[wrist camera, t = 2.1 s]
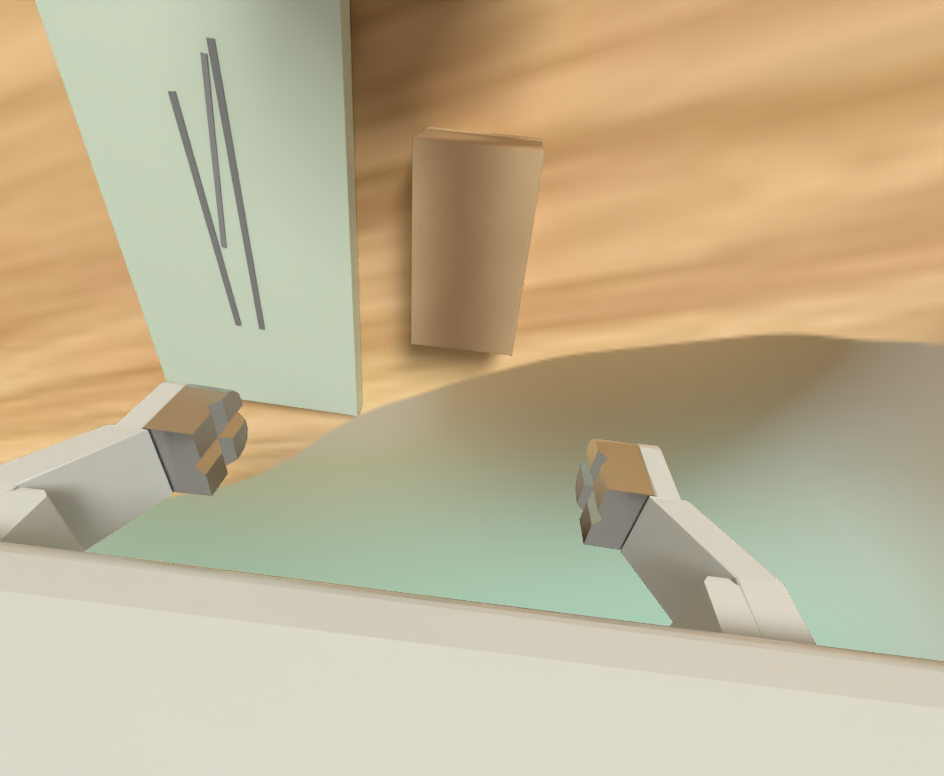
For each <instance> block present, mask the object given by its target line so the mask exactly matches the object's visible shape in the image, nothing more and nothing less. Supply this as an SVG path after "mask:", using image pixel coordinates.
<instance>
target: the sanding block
mask: <svg viewBox="0 0 944 776" xmlns="http://www.w3.org/2000/svg"><path fill="white" fill-rule="evenodd" d="M544 154H545V152H544V148H543V145H542V141H541V138H531V137H522V136H513V135H504V134H494V133H485V132H476V131H466V130H457V129H448V128H439V127H429V126H428V127H427V128H426V129H424V130H423V131H421V132H420V133H419V134H417V135H416V136H415V137H413V138H412V292H411V344H416V345H425V346H433V347H442V348H450V349H459V350H468V351H476V352H485V353H493V354H502V355H511V356H512V352H513V346H514V340H515V333H516V327H517V321H518V315H519V309H520V302H521V296H522V290H523V284H524V278H525V272H526V265H527V259H528V253H529V247H530V241H531V234H532V228H533V222H534V216H535V210H536V204H537V197H538V191H539V185H540V179H541V173H542V166H543V160H544Z"/></svg>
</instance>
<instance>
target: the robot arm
mask: <svg viewBox="0 0 944 776" xmlns="http://www.w3.org/2000/svg"><path fill="white" fill-rule="evenodd" d="M241 406H242V402H241V398H240V395H239V393H237V392H236V391H234V390H228V389H222V388H215V387H209V386H203V385H196V384H188V383H181V382H175V381H167V382H163V383H161V384H160V385H159V386H158V387H157V388H156V389H155V390H154V391H153V392H151V393H150V394H149V395H148V396H147V397H146V398H145V399H144V400H143V401H142V402H140V403H139V404H138V405H137V406H136V407H135V408H134V409H133V410H132V411H130V412H129V413H128V414H127V415H126V416H125V417H124V418H123V419H122V420H121V421H119V422H118V423H117V424H116V425H105V426H102V427H100V428H97V429H95V430H92V431H89V432H87V433H84V434H81V435H79V436H76V437H73V438H71V439H68V440H65V441H63V442H60V443H57V444H55V445H52V446H50V447H47V448H44V449H42V450H39V451H36V452H34V453H31V454H28V455H26V456H23V457H20V458H18V459H15V460H12V461H10V462H7V463H5V464H2V465H0V776H944V661H938V660H930V659H922V658H914V657H905V656H897V655H890V654H882V653H874V652H866V651H858V650H850V649H841V648H834V647H826V646H818V645H816V643H815V641H814V640H813V638H812V636H811V634H810V632H809V630H808V628H807V627H806V624H805V623H804V621H803V619H802V617H801V615H800V613H799V611H798V609H797V607H796V606H795V604H794V602H793V600H792V598H791V596H790V594H789V593H788V591H787V589H786V587H785V585H784V584H783V583H782V582H781V581H780V580H778V579H777V578H776V577H775V576H774V575H773V574H771V573H770V572H769V571H768V570H767V569H766V568H765V567H763V566H762V565H761V564H760V563H759V562H757V561H756V560H755V559H754V558H753V557H752V556H751V555H750V554H748V553H747V552H746V551H745V550H744V549H743V548H741V547H740V546H739V545H738V544H737V543H736V542H734V541H733V540H732V539H731V538H730V537H729V536H728V535H726V534H725V533H724V532H723V531H722V530H721V529H720V528H718V527H717V526H716V525H715V524H714V523H713V522H711V521H710V520H709V519H708V518H707V517H706V516H704V515H703V514H702V513H701V512H700V511H699V510H698V509H696V508H695V507H694V506H693V505H692V504H691V503H689V502H688V501H684V500H681V498H680V496H679V493H678V491H677V489H676V486H675V484H674V481H673V479H672V476H671V474H670V472H669V469H668V467H667V464H666V462H665V459H664V457H663V454H662V452H661V450H660V448H659V447H657V446H653V445H644V444H631V443H623V442H615V441H608V440H600V439H591V441H590V442H589V444H588V446H587V449H586V455H587V461H586V462H584V463H582V464H581V465H580V468H579V471H578V475H577V481H576V499H577V504H578V505H579V506H580V507H581V509H582V510H583V512H582V515H581V518H580V525H581V530H582V537H583V543H584V544H586V545H593V546H599V547H605V548H611V549H618V550H621V553H622V554H623V556H624V557H625V558H626V560H627V561H628V562H629V564H630V565H631V566H632V568H633V569H634V570H635V572H636V573H637V574H638V576H639V577H640V578H641V580H642V581H643V582H644V584H645V585H646V586H647V588H648V589H649V590H650V592H651V593H652V594H653V596H654V597H655V598H656V600H657V601H658V603H659V604H660V605H661V607H662V608H663V609H664V610H665V612H666V613H667V615H668V616H669V617H670V619H671V620H672V621H673V623H672V624H671V625H670V626H662V625H654V624H646V623H638V622H631V621H623V620H615V619H607V618H599V617H591V616H583V615H576V614H568V613H560V612H552V611H543V610H535V609H529V608H520V607H513V606H505V605H497V604H489V603H481V602H472V601H465V600H457V599H449V598H441V597H432V596H425V595H417V594H410V593H402V592H394V591H385V590H378V589H370V588H363V587H355V586H347V585H339V584H331V583H324V582H316V581H308V580H300V579H292V578H285V577H276V576H268V575H261V574H253V573H245V572H237V571H229V570H222V569H214V568H206V567H198V566H190V565H182V564H175V563H167V562H158V561H151V560H143V559H135V558H128V557H120V556H112V555H103V554H96V553H88V552H85V550H86V549H88V548H90V547H91V546H93V545H94V544H96V543H97V542H99V541H100V540H102V539H104V538H105V537H107V536H108V535H110V534H112V533H113V532H114V531H116V530H118V529H119V528H121V527H122V526H124V525H125V524H127V523H129V522H130V521H132V520H133V519H135V518H136V517H138V516H139V515H141V514H143V513H144V512H146V511H147V510H149V509H150V508H152V507H153V506H155V505H157V504H158V503H160V502H161V501H163V500H164V499H166V498H167V497H169V496H171V495H172V494H173V492H180V493H189V494H200V495H210V496H212V495H213V494H214V492H215V491H216V490H217V488H218V487H219V485H220V484H221V482H222V481H223V480H224V478H225V477H226V475H227V474H228V473H227V469H226V465H228V464H229V463H231V462H233V461H235V460H237V459H238V458H239V456H240V455H241V453H242V452H243V450H244V447H245V444H246V441H247V430H248V428H247V423H246V420H245V419H244V418H243V417H242V416H241V415H240V414H239V413H238V410H239V409H240V408H241Z"/></svg>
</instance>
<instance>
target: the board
mask: <svg viewBox="0 0 944 776" xmlns="http://www.w3.org/2000/svg"><path fill="white" fill-rule="evenodd" d="M35 2H36V5H37V8H38V11H39V14H40V16H41V19H42V22H43V25H44V28H45V31H46V34H47V37H48V40H49V42H50V45H51V48H52V51H53V54H54V57H55V60H56V63H57V66H58V69H59V71H60V74H61V77H62V80H63V83H64V86H65V89H66V92H67V95H68V97H69V100H70V103H71V106H72V109H73V112H74V115H75V118H76V121H77V123H78V126H79V129H80V132H81V135H82V138H83V141H84V144H85V147H86V149H87V152H88V155H89V158H90V161H91V164H92V167H93V170H94V173H95V175H96V178H97V181H98V184H99V187H100V190H101V193H102V196H103V199H104V201H105V204H106V207H107V210H108V213H109V216H110V219H111V222H112V225H113V228H114V230H115V233H116V236H117V239H118V242H119V245H120V248H121V251H122V254H123V256H124V259H125V262H126V265H127V268H128V271H129V274H130V277H131V280H132V282H133V285H134V288H135V291H136V294H137V297H138V300H139V303H140V306H141V308H142V311H143V314H144V317H145V320H146V323H147V326H148V329H149V332H150V334H151V337H152V340H153V343H154V346H155V349H156V352H157V355H158V358H159V360H160V363H161V366H162V369H163V372H164V375H165V378H166V381H175V382H181V383H188V384H196V385H203V386H209V387H215V388H222V389H228V390H234V391H236V392H237V393H239V395H240V398H241V399H242V400H249V401H256V402H263V403H270V404H277V405H284V406H291V407H298V408H305V409H312V410H319V411H326V412H333V413H340V414H347V415H354V416H357V415H358V413H359V411H360V409H361V406H362V375H361V344H360V313H359V282H358V251H357V220H356V189H355V157H354V126H353V95H352V64H351V33H350V2H349V0H35Z"/></svg>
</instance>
